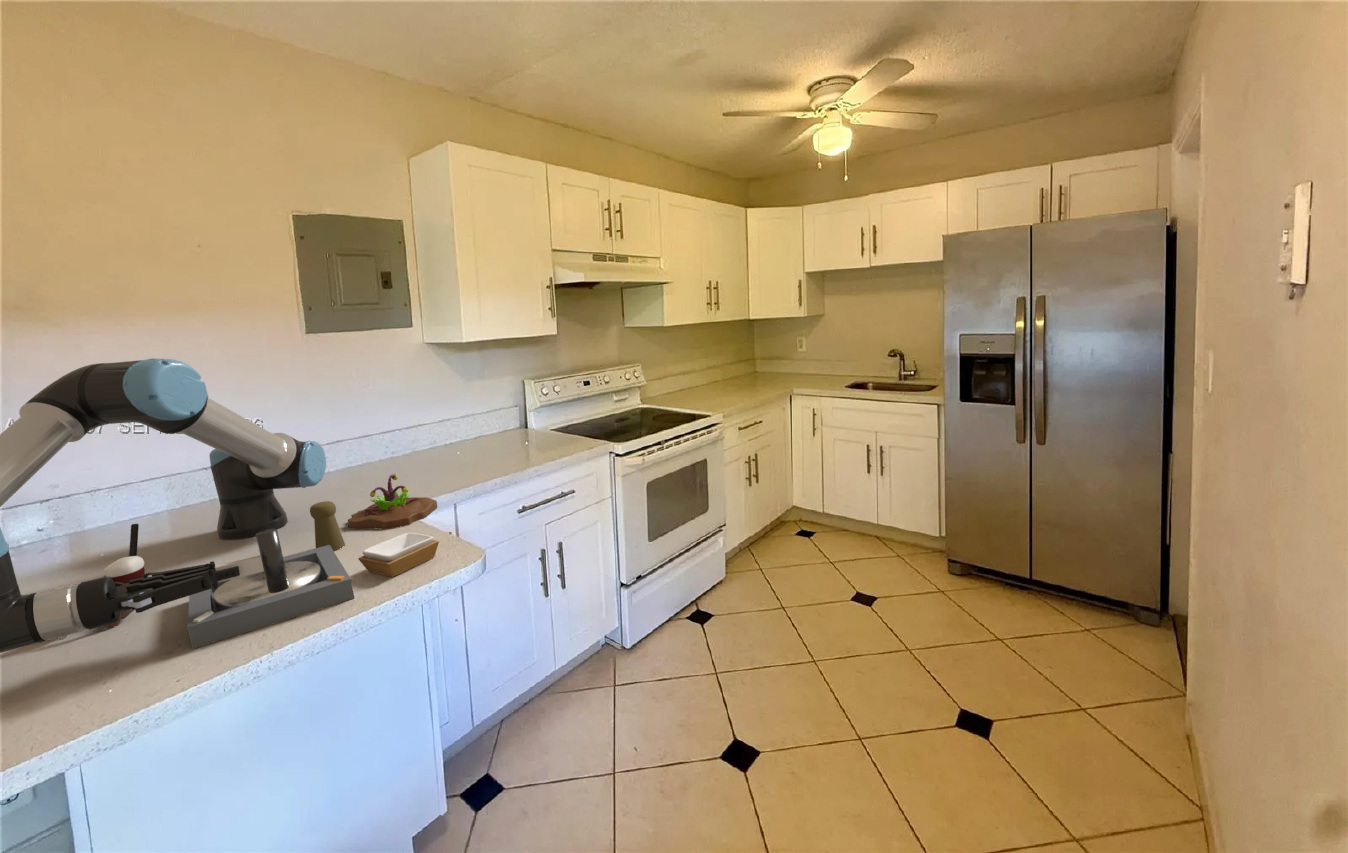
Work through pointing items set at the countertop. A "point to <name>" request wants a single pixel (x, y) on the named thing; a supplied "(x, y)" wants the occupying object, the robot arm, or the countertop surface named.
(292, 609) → the tray
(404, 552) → the soap dish
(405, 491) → the plant
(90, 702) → the countertop surface
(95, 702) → the countertop surface
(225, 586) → the dial
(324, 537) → the cork
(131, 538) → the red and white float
